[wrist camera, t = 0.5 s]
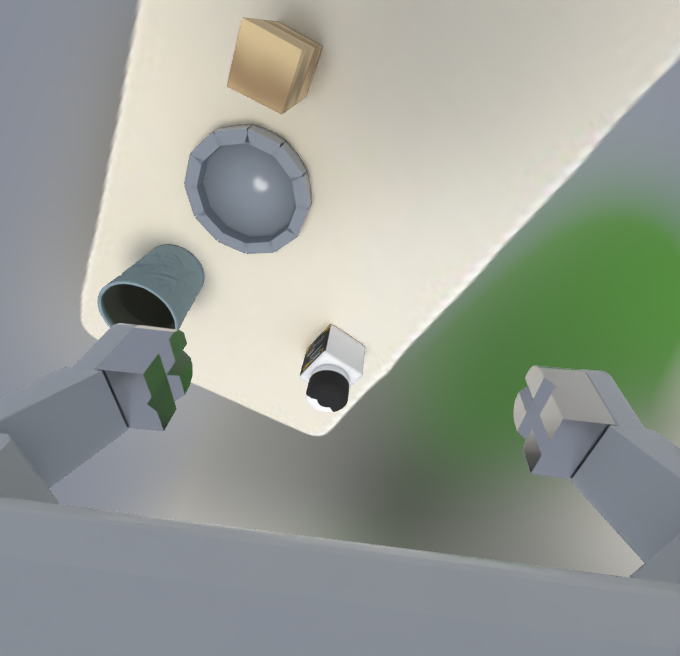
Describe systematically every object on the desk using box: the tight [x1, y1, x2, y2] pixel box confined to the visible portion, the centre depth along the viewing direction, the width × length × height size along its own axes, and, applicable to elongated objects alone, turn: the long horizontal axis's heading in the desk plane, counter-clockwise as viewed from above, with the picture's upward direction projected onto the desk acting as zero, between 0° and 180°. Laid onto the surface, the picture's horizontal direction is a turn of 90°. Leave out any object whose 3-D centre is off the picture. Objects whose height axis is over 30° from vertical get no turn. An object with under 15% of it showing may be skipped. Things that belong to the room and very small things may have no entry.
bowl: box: [184, 125, 311, 254], centre depth 49 cm, size 15×15×3 cm
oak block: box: [227, 17, 323, 114], centre depth 37 cm, size 5×5×12 cm
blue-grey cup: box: [98, 245, 204, 330], centre depth 54 cm, size 10×10×12 cm
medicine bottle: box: [300, 325, 365, 412], centre depth 60 cm, size 7×7×12 cm
